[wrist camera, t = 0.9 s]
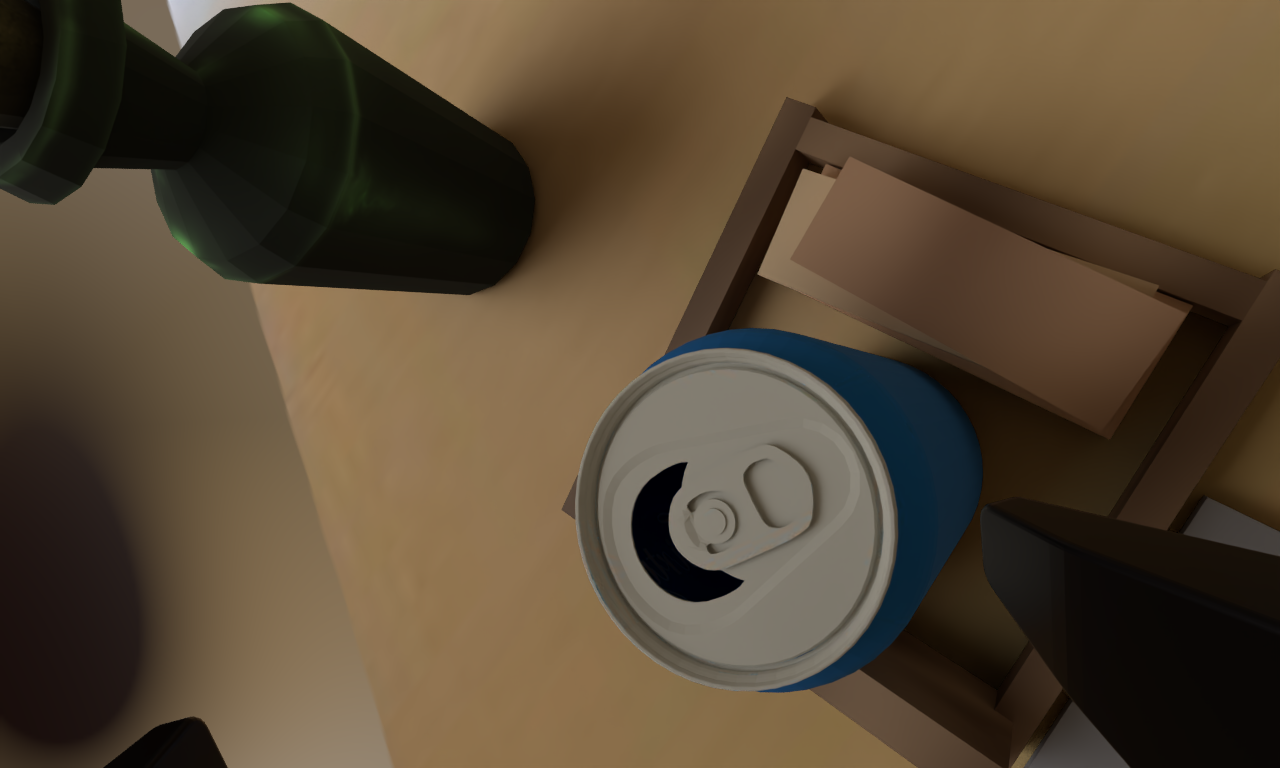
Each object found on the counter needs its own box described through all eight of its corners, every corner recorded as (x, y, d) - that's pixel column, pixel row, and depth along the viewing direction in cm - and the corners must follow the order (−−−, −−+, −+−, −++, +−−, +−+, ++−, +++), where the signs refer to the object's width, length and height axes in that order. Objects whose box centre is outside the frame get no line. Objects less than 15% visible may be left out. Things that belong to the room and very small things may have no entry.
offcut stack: (1184, 311, 19) (1213, 292, 16) (1105, 438, 20) (1117, 446, 17) (834, 174, 24) (799, 137, 20) (780, 284, 25) (737, 265, 21)
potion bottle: (513, 70, 30) (-98, -309, 14) (587, 251, 28) (-15, 55, 12) (375, 183, 33) (-242, -18, 17) (434, 350, 31) (-194, 300, 15)
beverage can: (732, 418, 25) (505, 431, 15) (913, 317, 23) (797, 244, 12) (825, 603, 24) (646, 768, 13) (1030, 518, 21) (1015, 638, 10)
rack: (1305, 295, 18) (1377, 266, 14) (1010, 748, 21) (1002, 828, 17) (800, 113, 24) (753, 57, 20) (622, 486, 27) (549, 500, 23)
